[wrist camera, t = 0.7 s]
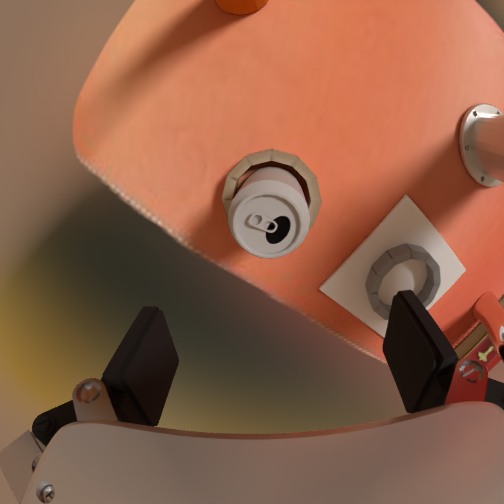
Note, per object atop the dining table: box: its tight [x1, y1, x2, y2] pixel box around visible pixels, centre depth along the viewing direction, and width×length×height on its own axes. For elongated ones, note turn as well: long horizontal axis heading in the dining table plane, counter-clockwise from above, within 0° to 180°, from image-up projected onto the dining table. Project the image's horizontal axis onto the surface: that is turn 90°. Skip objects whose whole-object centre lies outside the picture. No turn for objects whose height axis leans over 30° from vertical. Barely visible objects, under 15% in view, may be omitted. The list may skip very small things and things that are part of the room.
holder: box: [319, 194, 466, 338], centre depth 36 cm, size 18×18×3 cm
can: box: [228, 167, 310, 259], centre depth 29 cm, size 8×8×12 cm
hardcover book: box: [455, 297, 504, 366], centre depth 39 cm, size 12×21×4 cm, turn 146°
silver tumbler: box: [473, 292, 504, 363], centre depth 31 cm, size 7×7×15 cm
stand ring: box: [222, 149, 322, 229], centre depth 33 cm, size 11×11×2 cm
